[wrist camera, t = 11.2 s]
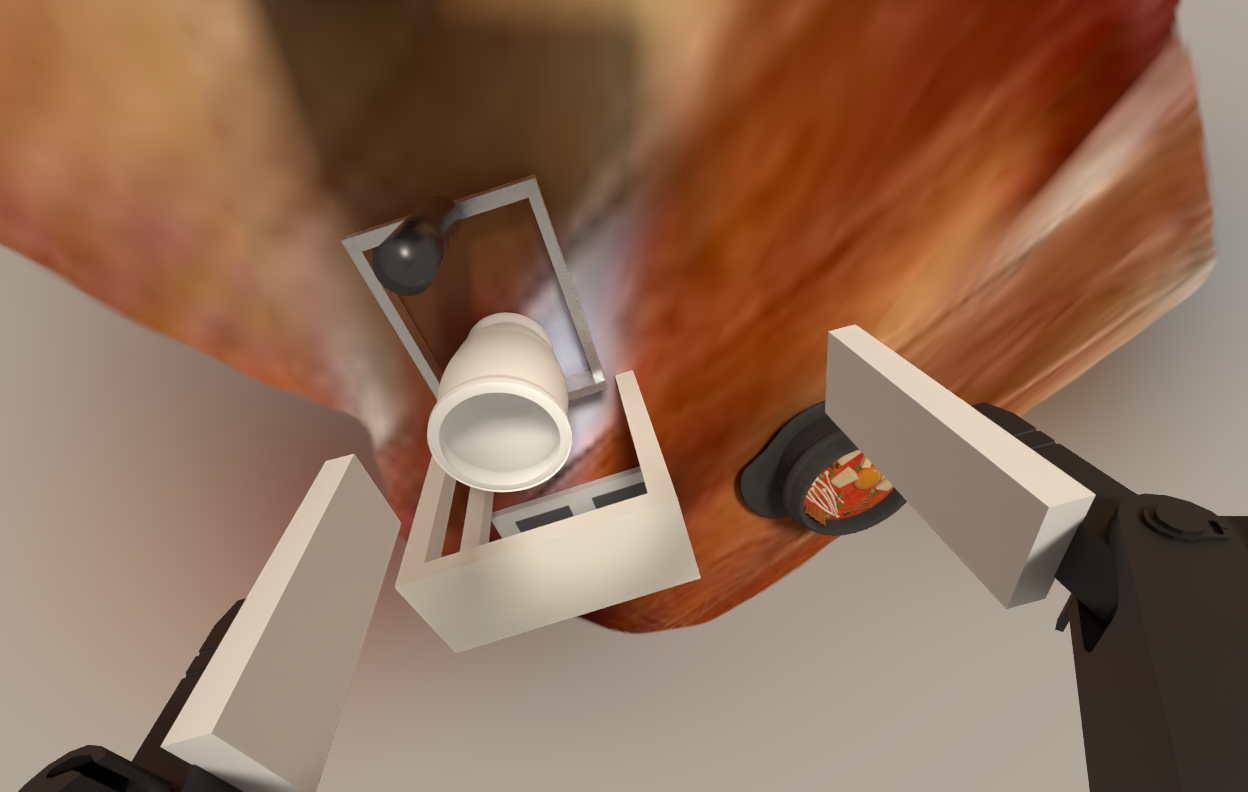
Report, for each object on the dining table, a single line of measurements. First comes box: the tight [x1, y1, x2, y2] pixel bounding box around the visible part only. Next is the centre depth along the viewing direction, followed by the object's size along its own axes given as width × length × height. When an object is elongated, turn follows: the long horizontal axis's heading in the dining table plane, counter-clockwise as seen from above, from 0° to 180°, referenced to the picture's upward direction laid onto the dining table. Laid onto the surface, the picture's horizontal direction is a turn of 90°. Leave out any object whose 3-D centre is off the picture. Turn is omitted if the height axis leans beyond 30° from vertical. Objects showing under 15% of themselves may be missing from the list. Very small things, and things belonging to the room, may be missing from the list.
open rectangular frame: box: [395, 370, 701, 653], centre depth 49 cm, size 22×22×20 cm
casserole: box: [739, 400, 907, 536], centre depth 59 cm, size 25×19×8 cm
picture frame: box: [341, 174, 608, 401], centre depth 38 cm, size 21×16×15 cm
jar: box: [427, 312, 572, 492], centre depth 42 cm, size 11×10×15 cm
